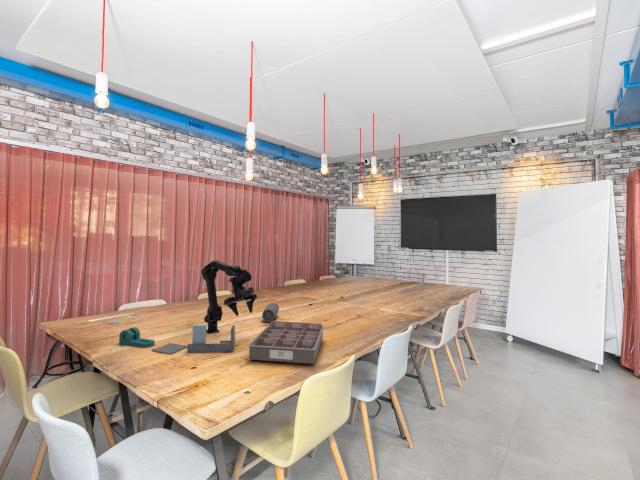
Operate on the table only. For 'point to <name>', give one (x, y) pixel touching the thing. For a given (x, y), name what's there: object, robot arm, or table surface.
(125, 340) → the bracket
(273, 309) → the bluetooth speaker
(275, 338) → the organizer tray
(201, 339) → the pale blue-grey block
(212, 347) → the board rack
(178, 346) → the rubber mat
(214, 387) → the table surface
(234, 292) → the robot arm
